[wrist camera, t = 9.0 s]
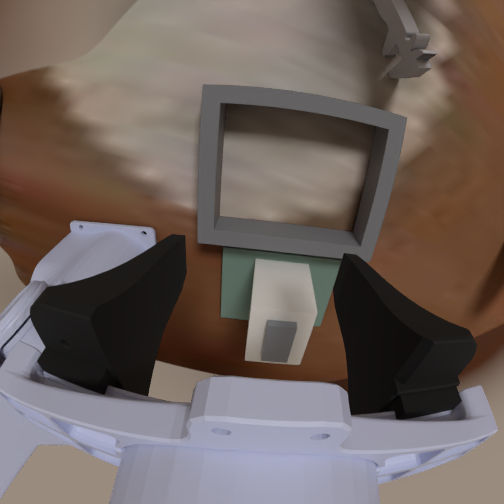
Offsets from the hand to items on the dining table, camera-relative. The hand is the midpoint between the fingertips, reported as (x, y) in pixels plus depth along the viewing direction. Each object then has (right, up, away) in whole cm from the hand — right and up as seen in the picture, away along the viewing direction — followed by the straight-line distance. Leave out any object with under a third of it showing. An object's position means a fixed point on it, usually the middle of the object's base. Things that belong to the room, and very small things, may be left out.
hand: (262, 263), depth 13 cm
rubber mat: (+2, -3, +13) cm, 14 cm away
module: (+2, -3, +12) cm, 13 cm away
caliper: (+7, +22, -2) cm, 23 cm away
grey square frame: (+3, +7, +7) cm, 10 cm away
